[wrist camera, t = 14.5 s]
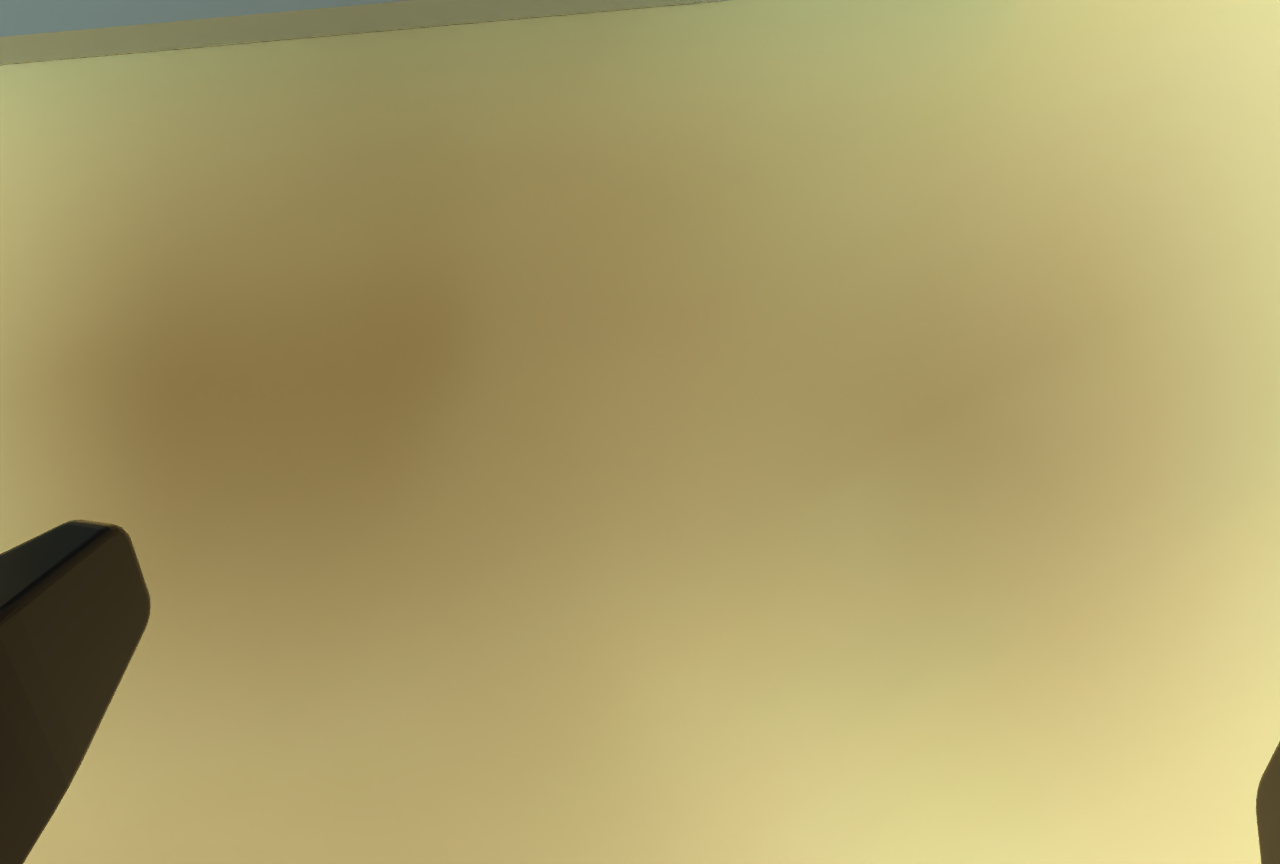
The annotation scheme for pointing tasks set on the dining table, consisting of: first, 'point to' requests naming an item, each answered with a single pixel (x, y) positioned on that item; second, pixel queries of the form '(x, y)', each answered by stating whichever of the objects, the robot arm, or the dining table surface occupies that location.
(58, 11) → the tray
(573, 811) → the dining table surface
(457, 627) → the dining table surface
